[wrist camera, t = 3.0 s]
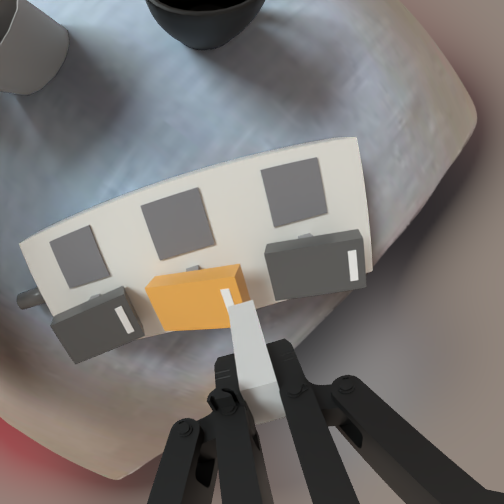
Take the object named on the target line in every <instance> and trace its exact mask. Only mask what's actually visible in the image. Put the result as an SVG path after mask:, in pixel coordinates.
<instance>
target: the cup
mask: <svg viewBox="0 0 504 504" xmlns="http://www.w3.org/2000/svg"><path fill="white" fill-rule="evenodd" d="M69 44H70V42H69V36H68V31H67V30H66V29H65V28H64V27H62V26H61V25H60V24H58V23H57V22H56V21H55V20H53V19H52V18H50V17H49V16H48V15H46V14H45V13H44V12H42V11H41V10H40V9H38V8H37V7H35V6H34V5H33V4H31V3H30V2H28V1H27V0H0V91H2V92H7V93H13V94H19V95H30V94H32V93H34V92H36V91H38V90H40V89H42V88H43V87H44V86H45V85H46V84H47V83H48V82H49V81H50V80H51V79H52V78H53V77H55V75H56V74H57V72H58V70H59V69H60V67H61V65H62V64H63V62H64V61H65V58H66V55H67V51H68V47H69Z"/></svg>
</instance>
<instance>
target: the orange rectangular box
mask: <svg viewBox="0 0 504 504" xmlns="http://www.w3.org/2000/svg"><path fill="white" fill-rule="evenodd" d="M145 291H146V293H147V295H148V297H149V299H150V302H151V304H152V306H153V308H154V310H155V312H156V314H157V316H158V318H159V320H160V322H161V324H162V326H163V328H164V330H165V331H181V330H201V329H217V328H231V326H230V319H229V311H228V307H229V306H232V305H236V304H240V303H243V302H247V301H250V300H251V299H250V296H249V292H248V289H247V286H246V282H245V279H244V275H243V272H242V269H241V265H240V264H234V265H227V266H221V267H214V268H208V269H201V270H194V271H187V272H181V273H174V274H167V275H160V276H155V277H154V278H153V279H152V280H151V281H150V282H149V284H148V285H147V286H146V287H145Z"/></svg>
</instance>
